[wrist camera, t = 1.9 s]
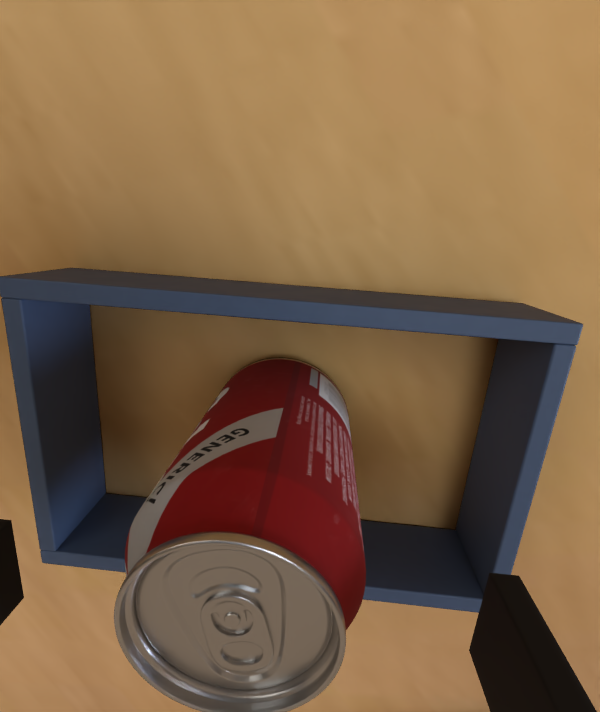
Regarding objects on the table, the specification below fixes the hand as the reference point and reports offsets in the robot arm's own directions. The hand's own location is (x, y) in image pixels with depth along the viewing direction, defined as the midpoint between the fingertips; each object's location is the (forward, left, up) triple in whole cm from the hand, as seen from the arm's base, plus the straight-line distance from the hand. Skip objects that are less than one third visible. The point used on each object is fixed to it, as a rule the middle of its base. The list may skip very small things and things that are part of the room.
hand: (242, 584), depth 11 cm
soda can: (0, 0, -11) cm, 11 cm away
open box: (0, 0, -10) cm, 10 cm away
